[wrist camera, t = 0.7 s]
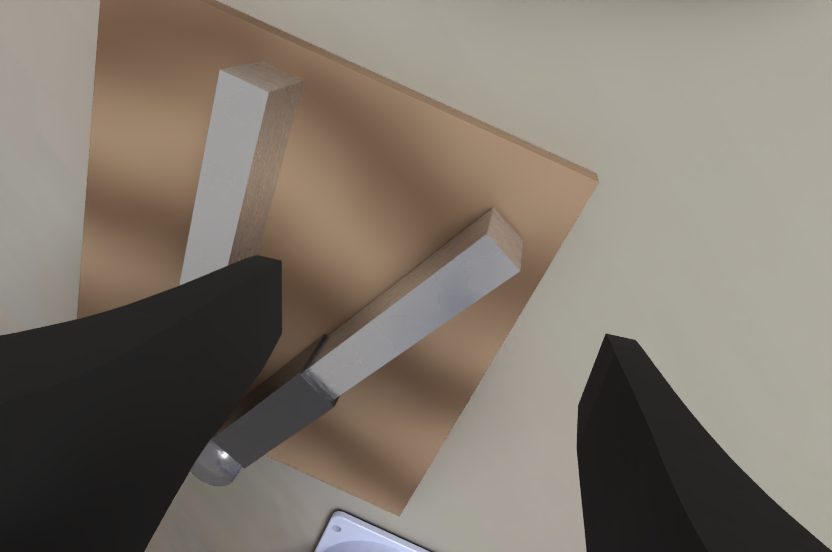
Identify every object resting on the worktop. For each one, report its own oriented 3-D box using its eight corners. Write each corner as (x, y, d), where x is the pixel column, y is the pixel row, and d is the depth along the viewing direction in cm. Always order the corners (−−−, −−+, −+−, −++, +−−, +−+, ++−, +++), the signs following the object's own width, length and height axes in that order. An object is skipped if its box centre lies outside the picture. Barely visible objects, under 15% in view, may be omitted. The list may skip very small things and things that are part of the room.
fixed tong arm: (224, 389, 26) (189, 431, 23) (188, 372, 26) (149, 413, 23) (308, 82, 18) (270, 94, 16) (257, 59, 18) (211, 68, 16)
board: (403, 500, 28) (399, 516, 27) (88, 355, 28) (73, 366, 27) (596, 173, 19) (599, 181, 18) (124, -42, 19) (103, -44, 18)
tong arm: (244, 450, 27) (214, 495, 24) (208, 418, 26) (174, 460, 24) (529, 248, 19) (528, 284, 17) (486, 198, 19) (477, 227, 16)
